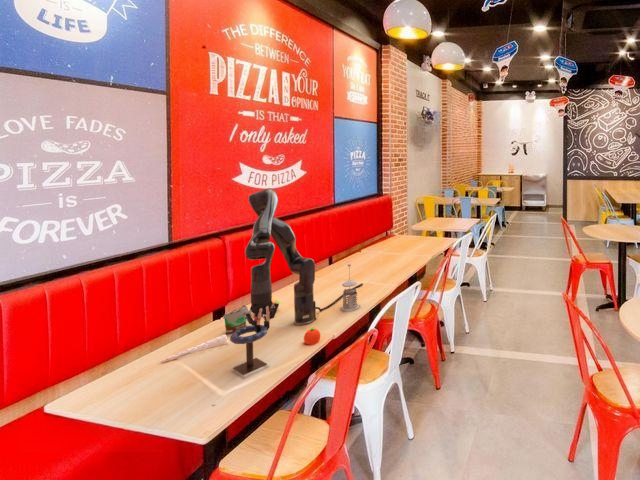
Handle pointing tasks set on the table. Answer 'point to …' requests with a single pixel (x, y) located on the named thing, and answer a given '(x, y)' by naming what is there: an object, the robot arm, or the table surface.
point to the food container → (235, 320)
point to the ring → (247, 339)
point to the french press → (352, 295)
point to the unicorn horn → (200, 347)
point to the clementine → (312, 336)
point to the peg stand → (249, 361)
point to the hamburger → (274, 301)
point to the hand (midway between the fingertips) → (262, 331)
